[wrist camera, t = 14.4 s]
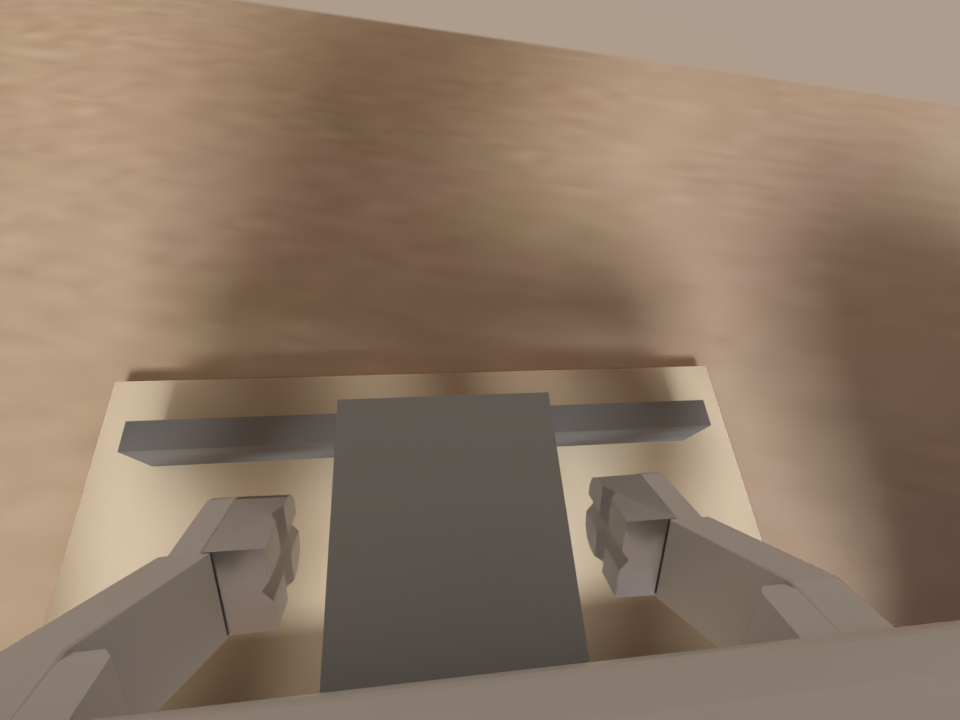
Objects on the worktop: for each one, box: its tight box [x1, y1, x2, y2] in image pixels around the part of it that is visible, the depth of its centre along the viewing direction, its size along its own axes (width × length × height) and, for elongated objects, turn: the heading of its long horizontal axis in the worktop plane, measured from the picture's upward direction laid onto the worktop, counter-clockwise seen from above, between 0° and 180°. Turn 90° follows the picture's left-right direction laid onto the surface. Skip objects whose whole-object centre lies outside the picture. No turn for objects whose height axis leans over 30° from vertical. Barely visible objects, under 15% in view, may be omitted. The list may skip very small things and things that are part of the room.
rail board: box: [44, 366, 762, 711], centre depth 15 cm, size 24×14×3 cm, turn 94°
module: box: [320, 392, 590, 693], centre depth 12 cm, size 4×5×9 cm
